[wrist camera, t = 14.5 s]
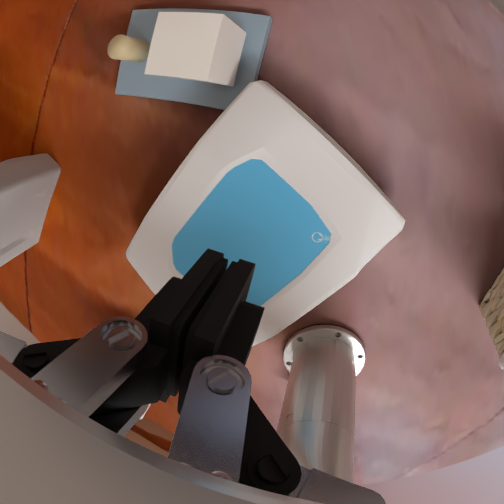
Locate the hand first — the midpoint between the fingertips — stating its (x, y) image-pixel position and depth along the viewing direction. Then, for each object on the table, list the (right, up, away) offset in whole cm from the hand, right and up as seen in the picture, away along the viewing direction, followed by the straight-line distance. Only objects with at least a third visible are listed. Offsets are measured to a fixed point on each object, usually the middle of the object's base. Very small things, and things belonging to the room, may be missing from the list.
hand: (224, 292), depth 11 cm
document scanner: (+1, +5, +28) cm, 28 cm away
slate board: (-7, +25, +21) cm, 33 cm away
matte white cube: (-3, +23, +18) cm, 29 cm away
